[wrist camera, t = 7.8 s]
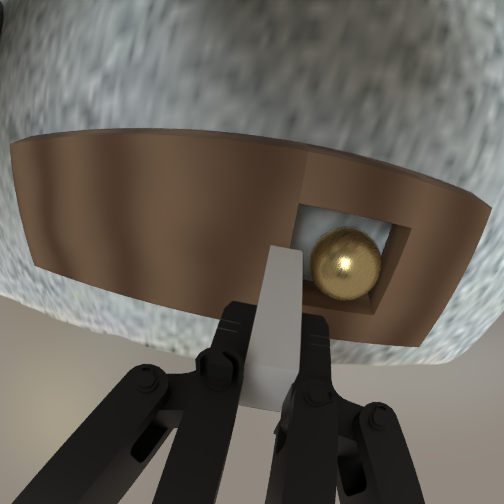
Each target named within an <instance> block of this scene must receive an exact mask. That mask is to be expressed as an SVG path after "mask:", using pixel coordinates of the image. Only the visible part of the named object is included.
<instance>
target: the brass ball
mask: <svg viewBox="0 0 504 504" xmlns="http://www.w3.org/2000/svg"><path fill="white" fill-rule="evenodd" d="M309 264H310V273H311V276H312V279H313V281H314V283H315V284H316V286H317V287H318V288H319V289H320V290H321V291H322V292H323V293H324V294H325V295H327V296H329V297H331V298H333V299H337V300H343V301H346V300H354V299H357V298H359V297H361V296H363V295H365V294H366V293H368V292H369V291H370V290H371V289H372V288H373V286H374V285H375V283H376V282H377V280H378V278H379V275H380V271H381V256H380V252H379V249H378V247H377V245H376V243H375V242H374V241H373V239H372V238H371V237H370V236H369V235H368V234H366V233H365V232H363V231H361V230H359V229H357V228H353V227H338V228H335V229H332V230H330V231H328V232H326V233H325V234H324V235H322V236H321V237H320V238H319V239H318V241H317V242H316V243H315V245H314V247H313V249H312V252H311V255H310V261H309Z"/></svg>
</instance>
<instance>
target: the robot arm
mask: <svg viewBox="0 0 504 504" xmlns="http://www.w3.org/2000/svg"><path fill="white" fill-rule="evenodd" d="M1 24H2V6H1V3H0V31H1ZM302 275H303V251H300V250H295V249H289V248H284V247H278V246H273V245H270V250H269V255H268V260H267V264H266V269H265V274H264V279H263V283H262V288H261V293H260V297H259V302H258V305H253V304H248V303H243V302H238V301H232V302H230V303H229V304H228V305H227V306H226V307H225V308H224V310H223V313H222V316H221V319H220V321H219V324H218V328H217V330H216V333H215V336H214V338H213V341H212V344H211V347H210V348H207V349H205V350H204V351H202V352H200V353H199V355H198V356H197V358H196V359H195V361H196V370H195V371H193V372H190V373H183V374H166V373H165V372H164V371H163V370H162V369H161V368H160V367H157V366H155V365H152V364H142V365H139V366H136V367H134V368H133V369H131V370H130V371H129V372H128V373H127V374H126V375H125V376H124V377H123V378H122V379H121V381H120V382H119V383H118V384H117V385H116V386H115V387H114V388H113V389H112V391H111V392H110V393H109V394H108V395H107V396H106V397H105V398H104V399H103V401H102V402H101V403H100V404H99V405H98V406H97V407H96V408H95V409H94V410H93V412H92V413H91V414H90V415H89V416H88V417H87V418H86V419H85V421H84V422H83V423H82V424H81V425H80V426H79V427H78V428H77V429H76V431H75V432H74V433H73V434H72V435H71V436H70V437H69V438H68V440H67V441H66V442H65V443H64V444H63V445H62V446H61V447H60V449H59V450H58V451H57V452H56V453H55V454H54V456H53V457H52V458H51V459H50V460H49V461H48V462H47V463H46V465H45V466H44V467H43V468H42V469H41V470H40V471H39V472H38V474H37V475H36V476H35V477H34V478H33V479H32V481H31V482H30V483H29V484H28V485H27V486H26V488H25V489H24V490H23V491H22V492H21V493H20V494H19V496H18V497H17V498H16V499H15V500H14V501H13V503H12V504H118V503H119V501H120V500H121V499H122V497H123V496H124V495H125V493H126V492H127V491H128V490H129V488H130V487H131V486H132V484H133V483H134V482H135V480H136V479H137V478H138V476H139V475H140V474H141V472H142V471H143V470H144V468H145V467H146V466H147V464H148V463H149V462H150V460H151V459H152V458H153V456H154V455H155V454H156V452H157V451H158V449H159V448H160V447H161V445H162V444H163V443H164V441H165V440H166V438H167V437H168V435H169V434H170V433H171V431H172V430H173V429H174V428H178V429H177V432H176V435H175V438H174V441H173V444H172V447H171V450H170V452H169V455H168V458H167V461H166V464H165V467H164V470H163V473H162V476H161V479H160V481H159V484H158V488H157V491H156V493H155V496H154V499H153V502H152V504H215V502H216V498H217V494H218V490H219V486H220V482H221V478H222V473H223V470H224V465H225V461H226V457H227V453H228V449H229V444H230V440H231V436H232V431H233V427H234V423H235V418H236V413H237V408H238V405H241V406H247V407H252V408H258V409H263V410H269V411H276V412H280V410H281V408H282V412H281V419H280V421H279V423H278V425H277V426H276V428H275V430H274V434H276V439H275V446H274V453H273V459H272V465H271V472H270V477H269V483H268V489H267V495H266V500H265V504H335V497H336V486H337V491H338V496H339V500H340V504H425V502H424V498H423V494H422V491H421V487H420V484H419V481H418V477H417V474H416V471H415V468H414V465H413V462H412V459H411V456H410V453H409V450H408V447H407V444H406V441H405V438H404V435H403V433H402V430H401V427H400V424H399V422H398V419H397V416H396V414H395V413H394V411H393V409H392V408H390V407H389V406H388V405H386V404H384V403H381V402H372V403H370V404H367V405H366V406H365V407H363V406H360V405H358V404H355V403H352V402H350V401H347V400H345V399H343V398H342V397H341V396H339V395H338V393H337V392H336V391H335V390H334V388H333V385H332V381H331V356H330V339H329V337H330V336H329V325H328V324H327V322H326V320H325V318H324V317H323V316H321V315H314V314H308V313H302Z"/></svg>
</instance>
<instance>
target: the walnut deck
mask: <svg viewBox="0 0 504 504" xmlns="http://www.w3.org/2000/svg"><path fill="white" fill-rule="evenodd" d="M10 154H11V163H12V171H13V178H14V185H15V191H16V196H17V201H18V206H19V211H20V216H21V220H22V224H23V228H24V232H25V236H26V239H27V243H28V246H29V250H30V253H31V256H32V259H33V262H34V265H35V266H37V267H40V268H42V269H45V270H48V271H50V272H53V273H56V274H59V275H62V276H64V277H67V278H70V279H73V280H76V281H79V282H82V283H85V284H88V285H91V286H94V287H98V288H101V289H104V290H107V291H111V292H114V293H117V294H121V295H124V296H128V297H131V298H135V299H138V300H142V301H145V302H149V303H153V304H157V305H160V306H164V307H168V308H172V309H176V310H180V311H184V312H188V313H193V314H197V315H201V316H206V317H210V318H215V319H219V320H220V319H221V316H222V313H223V310H224V308H225V307H226V306H227V305H228V304H229V303H230V302H232V301H238V302H243V303H248V304H253V305H258V302H259V297H260V293H261V288H262V283H263V279H264V274H265V269H266V264H267V260H268V255H269V250H270V245H273V246H278V247H284V248H289V249H290V245H291V240H292V235H293V230H294V225H295V220H296V215H297V210H298V205H299V203H300V204H305V205H310V206H316V207H321V208H326V209H331V210H336V211H340V212H345V213H350V214H354V215H359V216H363V217H368V218H372V219H377V220H381V221H385V222H389V223H393V225H392V228H391V231H390V233H389V236H388V239H387V242H386V245H385V247H384V250H383V253H382V255H381V271H380V275H379V278H378V280H377V282H376V283H375V285H374V286H373V288H372V289H371V290H370V291H369V292H368V293H366V294H365V295H363V296H361V297H359V298H357V299H354V300H346V301H343V300H337V299H333V298H331V297H329V296H327V295H325V294H324V293H323V292H322V291H321V290H320V289H319V288H318V287H317V286H316V284H315V283H314V282H313V281H307V280H302V313H308V314H314V315H321V316H323V317H324V318H325V320H326V322H327V324H328V325H329V336H330V337H329V339H336V340H344V341H353V342H362V343H371V344H382V345H393V346H406V347H419V346H420V345H421V344H422V342H423V341H424V339H425V338H426V336H427V335H428V334H429V332H430V331H431V329H432V328H433V326H434V324H435V323H436V321H437V320H438V318H439V317H440V315H441V313H442V312H443V310H444V309H445V307H446V305H447V304H448V302H449V300H450V298H451V297H452V295H453V293H454V291H455V290H456V288H457V286H458V284H459V282H460V280H461V278H462V276H463V274H464V273H465V271H466V269H467V267H468V264H469V262H470V260H471V258H472V256H473V254H474V252H475V250H476V247H477V245H478V243H479V240H480V238H481V236H482V233H483V231H484V228H485V226H486V223H487V221H488V218H489V215H490V213H491V210H492V207H490V206H489V205H488V204H486V203H485V202H484V201H482V200H481V199H480V198H478V197H477V196H475V195H474V194H473V193H471V192H469V191H466V190H464V189H461V188H459V187H456V186H454V185H451V184H449V183H446V182H443V181H441V180H438V179H435V178H432V177H430V176H427V175H424V174H421V173H418V172H415V171H412V170H409V169H405V168H402V167H399V166H396V165H392V164H389V163H385V162H382V161H378V160H375V159H371V158H367V157H363V156H359V155H355V154H351V153H347V152H343V151H339V150H334V149H330V148H325V147H320V146H315V145H310V144H305V143H299V142H293V141H288V140H281V139H275V138H268V137H261V136H254V135H246V134H237V133H227V132H217V131H204V130H188V129H164V128H119V129H96V130H81V131H70V132H60V133H51V134H43V135H36V136H31V137H28V138H25V139H22V140H19V141H17V142H14V143H11V144H10Z"/></svg>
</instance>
